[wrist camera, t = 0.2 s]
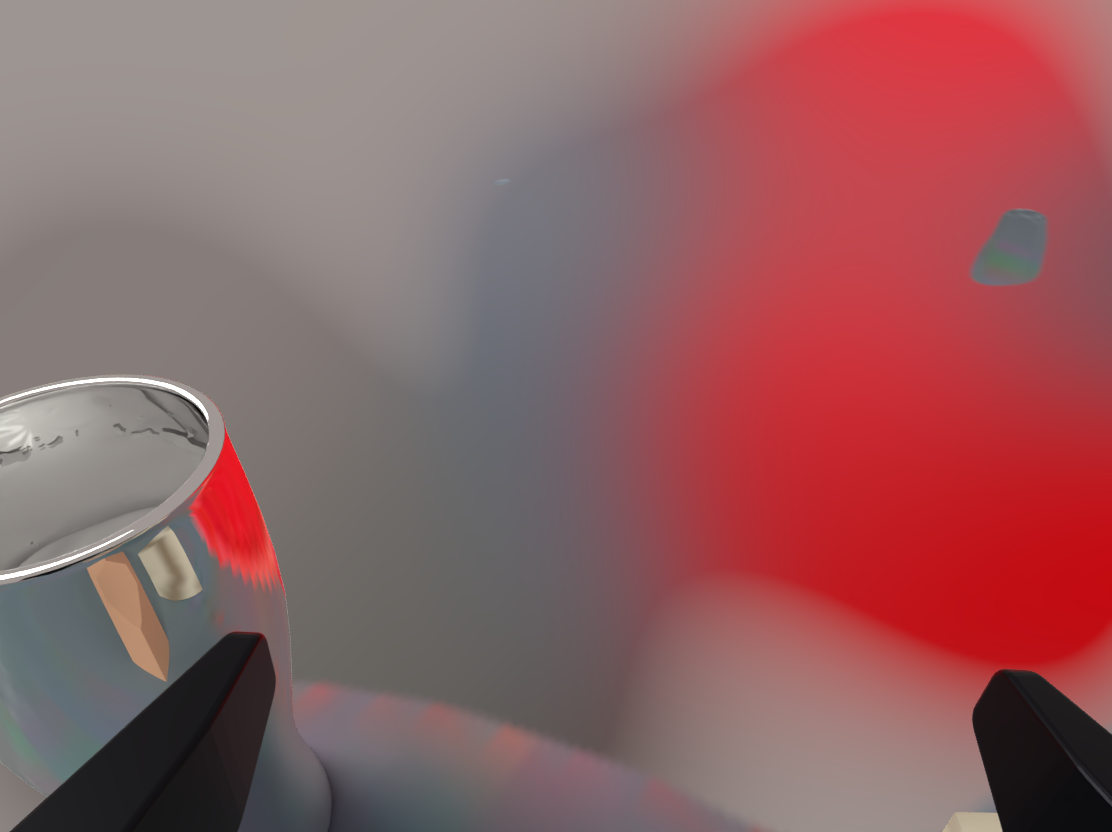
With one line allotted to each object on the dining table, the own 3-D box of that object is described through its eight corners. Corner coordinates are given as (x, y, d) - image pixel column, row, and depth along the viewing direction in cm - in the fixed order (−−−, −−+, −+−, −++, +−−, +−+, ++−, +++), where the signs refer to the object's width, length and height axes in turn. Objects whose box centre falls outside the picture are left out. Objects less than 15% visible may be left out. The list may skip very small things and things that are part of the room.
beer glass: (325, 699, 27) (221, 344, 19) (369, 889, 22) (253, 523, 13) (114, 775, 25) (-120, 409, 16) (108, 1008, 20) (-241, 657, 11)
